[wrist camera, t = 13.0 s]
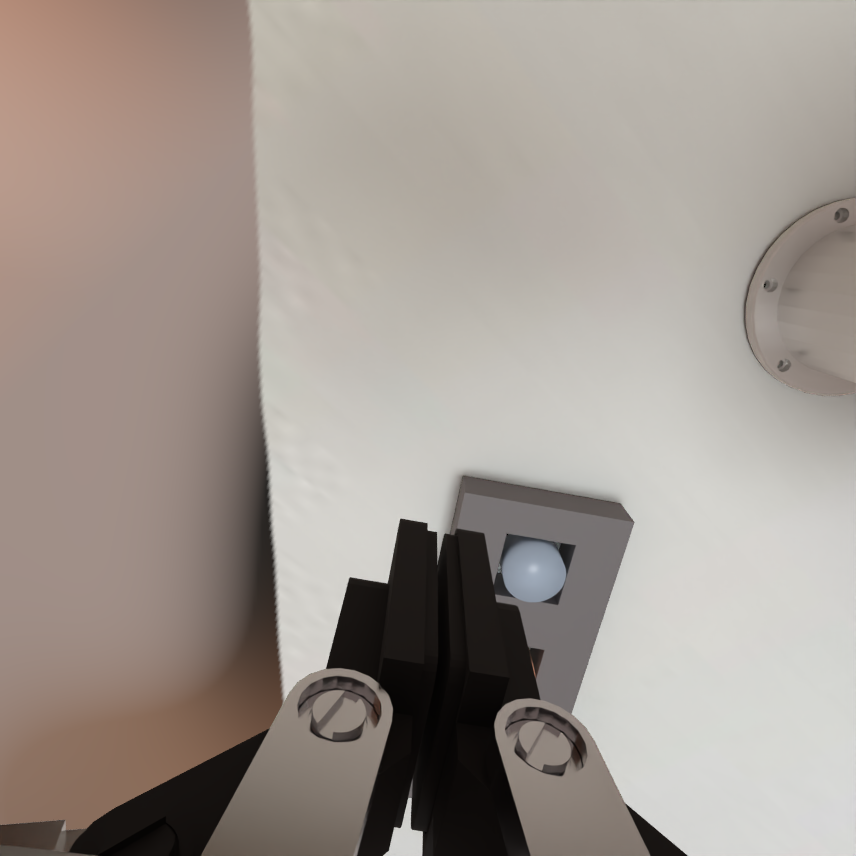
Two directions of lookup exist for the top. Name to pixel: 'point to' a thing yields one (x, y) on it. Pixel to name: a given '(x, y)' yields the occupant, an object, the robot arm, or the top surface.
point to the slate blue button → (532, 568)
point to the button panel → (584, 562)
